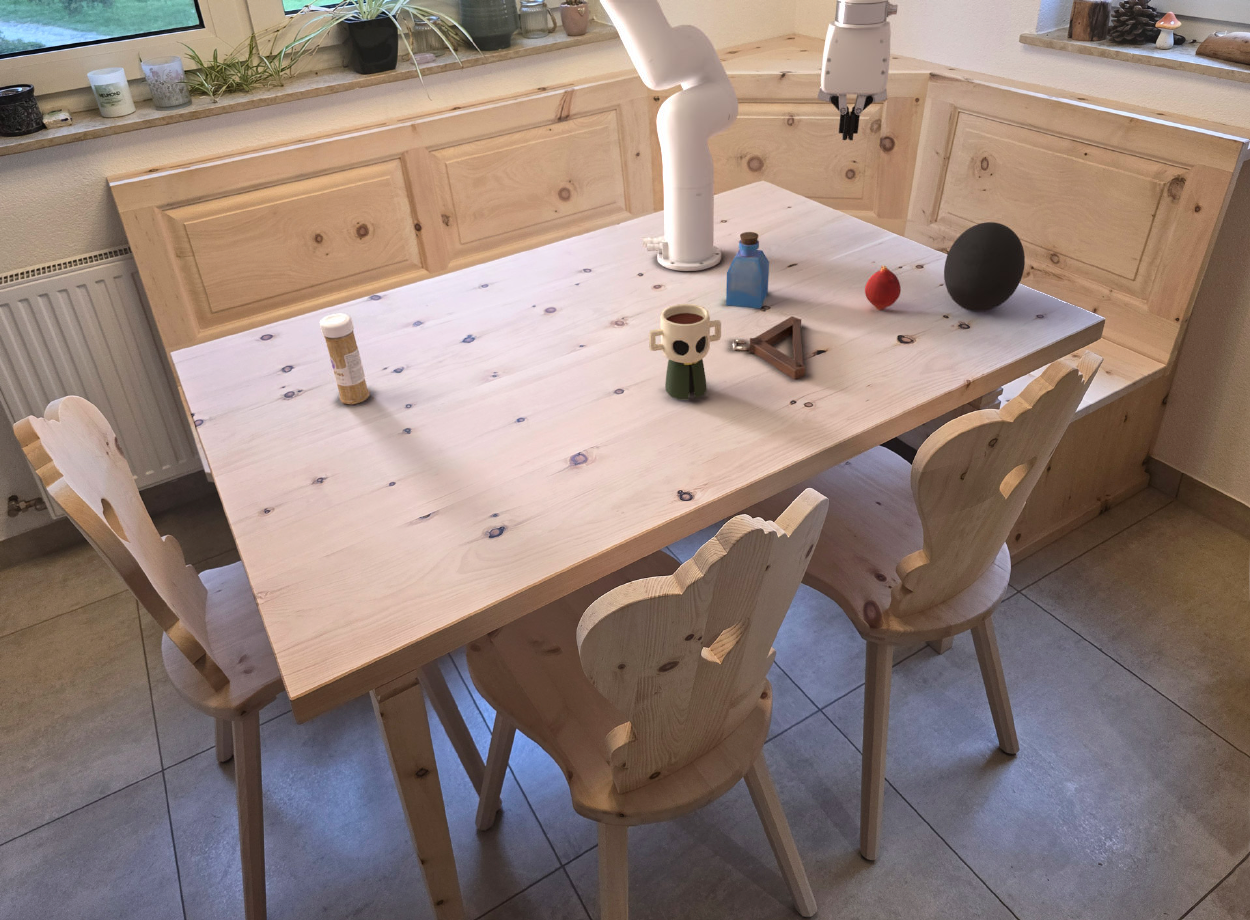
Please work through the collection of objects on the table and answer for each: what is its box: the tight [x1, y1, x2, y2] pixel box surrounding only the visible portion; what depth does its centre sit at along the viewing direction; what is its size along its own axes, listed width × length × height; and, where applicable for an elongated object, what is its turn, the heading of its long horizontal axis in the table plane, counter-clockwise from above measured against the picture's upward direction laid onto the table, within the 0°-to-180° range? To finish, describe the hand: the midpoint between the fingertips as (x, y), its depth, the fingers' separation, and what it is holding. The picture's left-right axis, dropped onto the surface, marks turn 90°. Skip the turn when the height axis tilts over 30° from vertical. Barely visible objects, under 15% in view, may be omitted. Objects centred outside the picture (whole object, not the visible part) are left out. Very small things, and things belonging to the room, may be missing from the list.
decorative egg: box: [943, 221, 1026, 312], centre depth 149 cm, size 12×12×15 cm
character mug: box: [648, 303, 722, 401], centre depth 131 cm, size 11×7×13 cm, turn 104°
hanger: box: [732, 315, 806, 380], centre depth 144 cm, size 11×18×2 cm, turn 173°
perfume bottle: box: [725, 231, 770, 309], centre depth 157 cm, size 6×6×12 cm
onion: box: [864, 265, 902, 311], centre depth 152 cm, size 6×6×8 cm
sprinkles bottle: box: [319, 313, 370, 405], centre depth 134 cm, size 5×5×13 cm
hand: (847, 137), depth 145 cm, fingers closed
